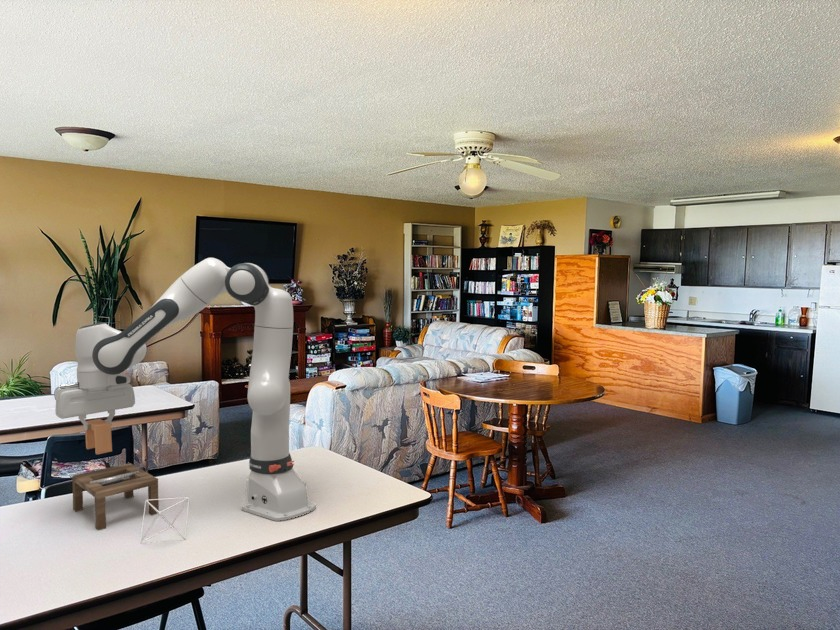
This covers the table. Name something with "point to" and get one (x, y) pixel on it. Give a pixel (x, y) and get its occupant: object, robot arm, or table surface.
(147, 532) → the geometric polyhedron
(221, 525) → the table surface
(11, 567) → the table surface
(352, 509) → the table surface
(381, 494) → the table surface
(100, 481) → the grey textured rod
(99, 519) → the small wooden table
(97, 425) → the tan cardboard brick
